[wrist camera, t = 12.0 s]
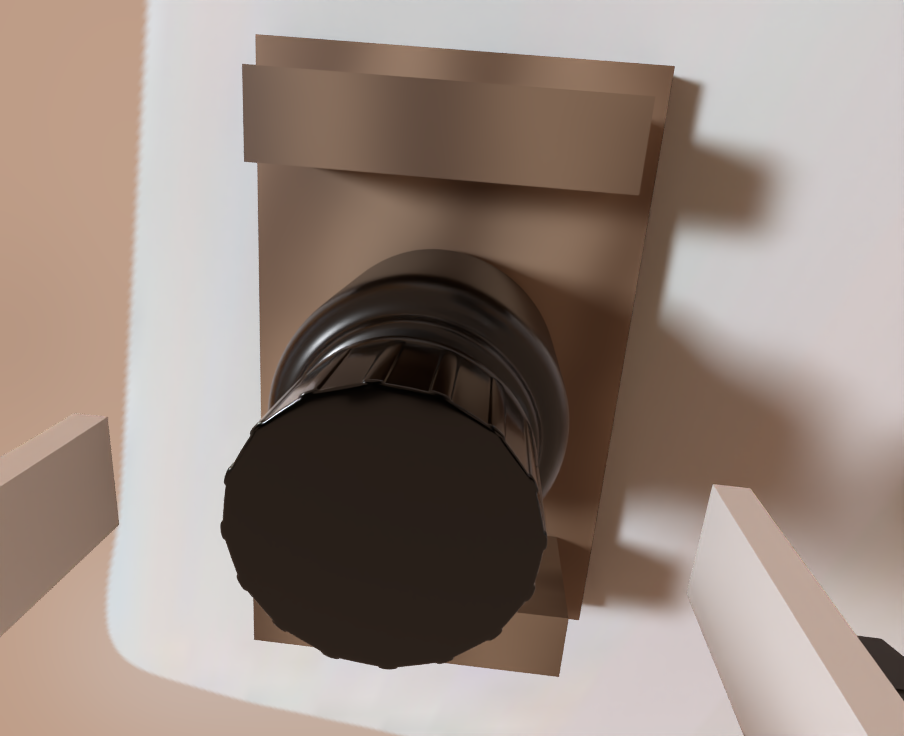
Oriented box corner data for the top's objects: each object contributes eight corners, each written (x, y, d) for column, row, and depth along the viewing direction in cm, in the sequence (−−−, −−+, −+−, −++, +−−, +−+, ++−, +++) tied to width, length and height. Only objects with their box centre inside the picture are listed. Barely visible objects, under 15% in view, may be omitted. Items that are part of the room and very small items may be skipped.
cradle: (663, 72, 22) (726, 36, 16) (575, 597, 29) (595, 714, 23) (271, 42, 23) (185, -4, 17) (275, 562, 30) (215, 667, 23)
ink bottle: (271, 369, 25) (79, 540, 14) (406, 188, 22) (309, 213, 11) (462, 512, 26) (433, 777, 15) (610, 356, 24) (710, 532, 12)
